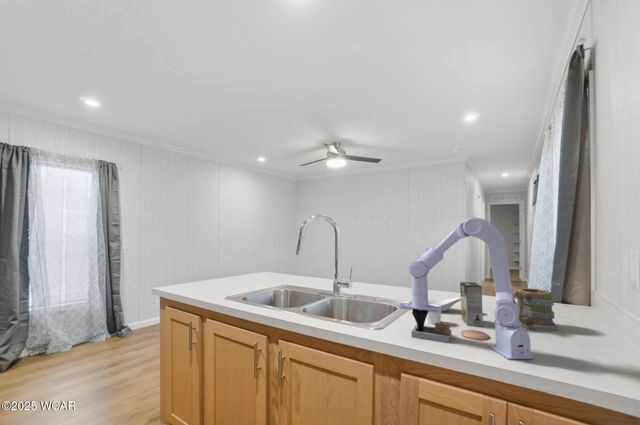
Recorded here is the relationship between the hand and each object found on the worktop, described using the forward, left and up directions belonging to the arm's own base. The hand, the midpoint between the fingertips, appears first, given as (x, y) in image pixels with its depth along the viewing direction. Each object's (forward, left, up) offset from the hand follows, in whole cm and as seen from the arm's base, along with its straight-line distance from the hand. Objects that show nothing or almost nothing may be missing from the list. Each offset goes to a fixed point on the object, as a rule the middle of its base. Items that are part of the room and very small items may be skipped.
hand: (420, 330), depth 109 cm
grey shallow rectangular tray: (-2, -4, -1) cm, 5 cm away
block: (-4, -7, -2) cm, 8 cm away
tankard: (+7, -46, -2) cm, 47 cm away
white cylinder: (+14, -10, -2) cm, 17 cm away
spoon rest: (+31, -26, -2) cm, 40 cm away
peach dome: (-2, -19, -1) cm, 19 cm away
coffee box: (+13, -26, -2) cm, 29 cm away
